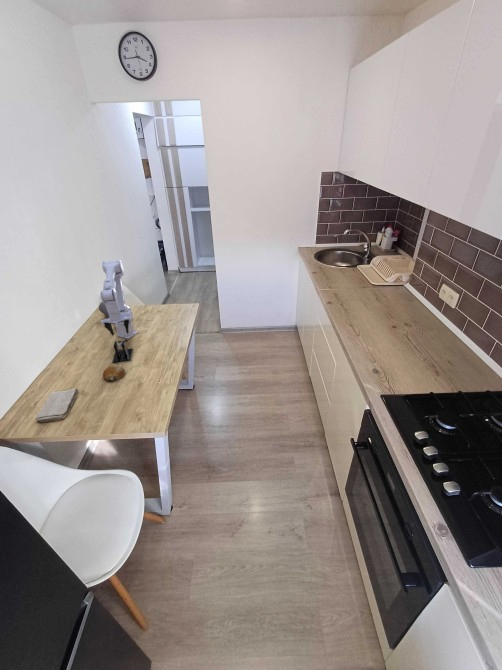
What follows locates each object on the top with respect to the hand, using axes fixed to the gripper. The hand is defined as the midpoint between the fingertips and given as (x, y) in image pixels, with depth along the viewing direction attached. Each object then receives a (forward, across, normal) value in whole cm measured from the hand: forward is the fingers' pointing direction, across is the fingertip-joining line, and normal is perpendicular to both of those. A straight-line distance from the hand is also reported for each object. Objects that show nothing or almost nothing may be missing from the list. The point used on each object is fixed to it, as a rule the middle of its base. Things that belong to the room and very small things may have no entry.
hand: (120, 333), depth 171 cm
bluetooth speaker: (+10, -11, +39) cm, 42 cm away
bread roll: (+10, -2, -24) cm, 26 cm away
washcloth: (+10, -23, -40) cm, 48 cm away
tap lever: (+5, 0, -5) cm, 7 cm away
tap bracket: (+10, 0, -8) cm, 13 cm away
